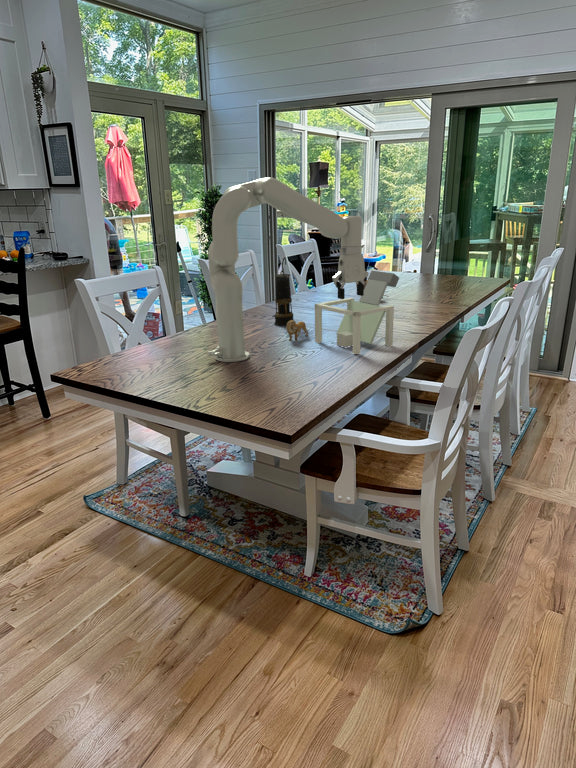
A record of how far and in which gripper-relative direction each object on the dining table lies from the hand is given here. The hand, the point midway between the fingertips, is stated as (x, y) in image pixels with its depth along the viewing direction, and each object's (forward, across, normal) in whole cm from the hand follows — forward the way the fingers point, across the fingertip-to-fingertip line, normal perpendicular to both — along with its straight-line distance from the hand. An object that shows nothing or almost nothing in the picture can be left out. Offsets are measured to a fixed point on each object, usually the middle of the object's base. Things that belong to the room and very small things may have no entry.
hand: (350, 296), depth 205 cm
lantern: (+19, +2, +47) cm, 51 cm away
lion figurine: (+19, -10, +21) cm, 30 cm away
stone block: (+16, 0, 0) cm, 17 cm away
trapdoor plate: (+7, +12, 0) cm, 14 cm away
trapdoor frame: (+19, +2, 0) cm, 19 cm away
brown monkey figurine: (+19, +67, +59) cm, 92 cm away
